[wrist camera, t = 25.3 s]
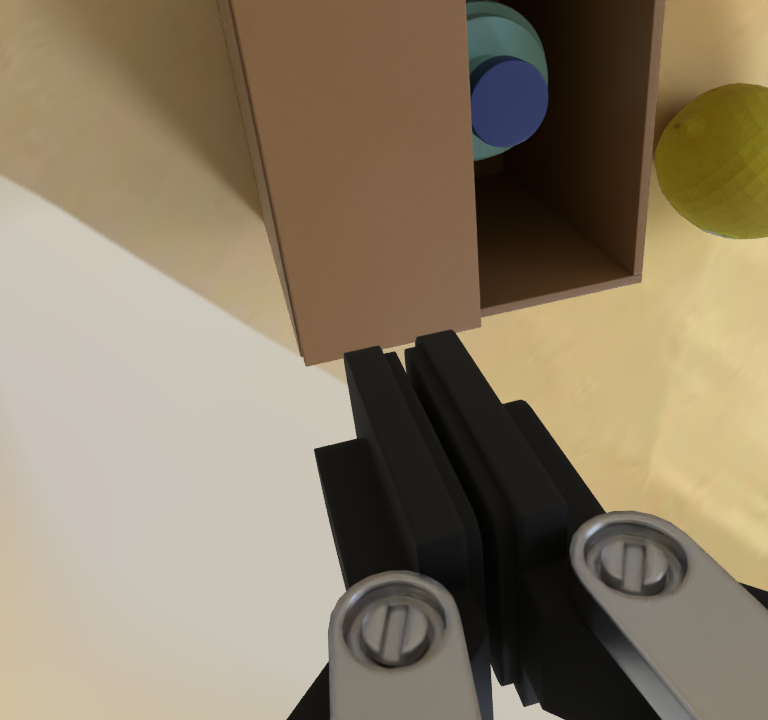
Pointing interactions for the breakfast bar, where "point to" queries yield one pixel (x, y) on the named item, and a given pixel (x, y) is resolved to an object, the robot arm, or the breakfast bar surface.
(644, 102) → the carton
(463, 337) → the breakfast bar surface
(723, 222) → the lemon
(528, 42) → the bottle
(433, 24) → the flap
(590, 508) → the robot arm
